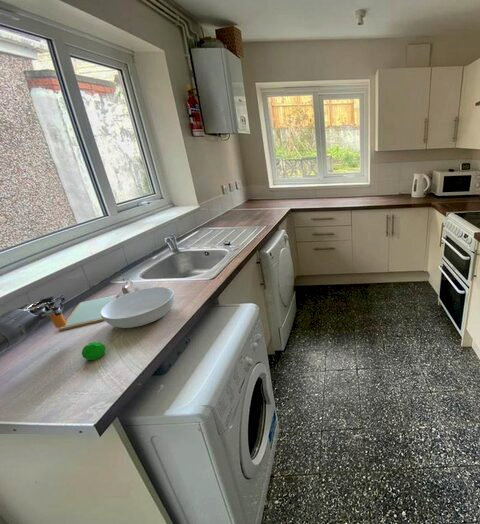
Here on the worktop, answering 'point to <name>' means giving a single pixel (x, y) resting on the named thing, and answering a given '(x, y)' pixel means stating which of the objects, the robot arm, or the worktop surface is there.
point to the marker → (57, 320)
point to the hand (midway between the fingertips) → (56, 298)
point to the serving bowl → (138, 307)
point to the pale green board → (87, 312)
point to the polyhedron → (93, 351)
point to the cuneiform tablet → (128, 286)
